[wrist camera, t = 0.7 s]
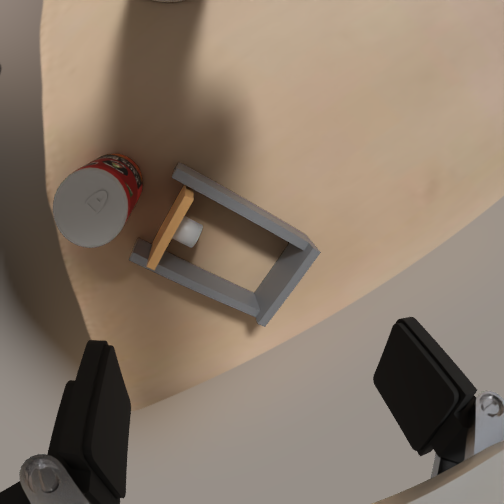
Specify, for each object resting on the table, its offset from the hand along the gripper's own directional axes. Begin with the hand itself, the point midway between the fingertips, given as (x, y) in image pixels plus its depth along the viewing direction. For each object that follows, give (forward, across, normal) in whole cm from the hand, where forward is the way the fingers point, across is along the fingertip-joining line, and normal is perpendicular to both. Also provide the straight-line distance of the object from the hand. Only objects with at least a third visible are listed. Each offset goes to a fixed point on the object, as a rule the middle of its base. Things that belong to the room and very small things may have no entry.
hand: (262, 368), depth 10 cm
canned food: (+32, +12, +1) cm, 34 cm away
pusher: (+32, +3, +6) cm, 32 cm away
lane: (+32, -2, +9) cm, 33 cm away
